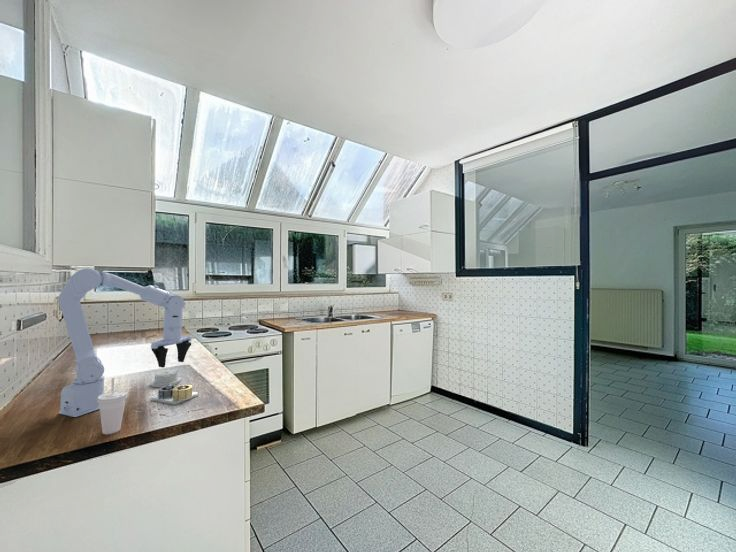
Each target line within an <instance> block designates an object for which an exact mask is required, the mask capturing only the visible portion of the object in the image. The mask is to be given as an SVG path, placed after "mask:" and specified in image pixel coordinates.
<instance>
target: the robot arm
mask: <svg viewBox="0 0 736 552" xmlns="http://www.w3.org/2000/svg"><path fill="white" fill-rule="evenodd" d="M99 286H100V287H114V288H117V289H120V290H123V291H127V292H130V293H133V294H135V295H139V297H140V300H141V301H143V302H147V303H149V304H151V305H155V306H157V307H163V308H164V315H163V334H162V335H163V336H162V337H163V338H162V339H160V340H157V341H154V342H151V343H150V348H151V351H152V353H153V354H154V356H155V358H156V361H157V364H158V367H159V368H165V367H166V363H167V362H166V360H167V353H168V351H169V348H166V347H167V346H173V345H175V346H176V349H177V350H176V351H177V361H178V363H184V362H185V359H186V356H187V353H188V351H189V350H190V347H191V346H192V336H191V335H190V336H189V335H183V334H182V333H183V309H184V308H185V305H186V302H185V300H184V298H183V297H182V296H181V295H178V294H177V295H176V294H174V293H173V291H171V290H169V291H166V290H164V289H161V288H159V287H160V286H159V285H156V284H154V285H151V284H149V285H147V286H142V285H140V284H138V283H135V282H132V281H131V280H127V279H125V278H123V277H120V276H118V275H115V274H113V273H110V272H109V273H108V272H104V271H100V270H99V271H98V270H96V269H94V268H89V267H88V268H82V269H79V270H78V271H76V272H74V273H73V274H72V275H71V276H69V277H68V280H67V281H66V283H65V284H64V287H63V288H62V290H61V291H60V293H59V295H58V297H57V298H58V302H59V307H60V311H61V313H62V316H63V320H64V322H65V326H66V327H65V328H66V329H67V333H68V336H69V339H70V342H71V345H72V346H71V347H72V349H73V351H74V356H75V359H76V364H75V367H74V368H75V373H76V374H75V375H76V377H75V378H74V379H73V380H72V381H73V382H72V383H70V384H68V385H66V386H63V388H62V390H61V392H60V404H59V406H60V407H59V409H60V411H58V414H60V415H64V416H67V417H73V418H77V417H80V416H83V415H85V414H89V413H92V412H94V411H97V410H100V409H99V403H98V402H97V398H98V397H99V396H100V395H102V394H105V375H103V374H104V372H105V366H104V364H102V360H101V359H100V358H99V357H97V354H96V351H95V347H94V345H93V340H92V337H91V335H90V331H89V329H88V328H89V327H88V324H87V320H86V317H85V315H84V312H83V311H84V310H83V308H82V304H81V300H82V299H83V298H84V297H85V296H86V295H87V293H89V292H90V291H92V290H94V289H95V288H97V287H99Z"/></svg>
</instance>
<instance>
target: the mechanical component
mask: <svg viewBox="0 0 736 552" xmlns="http://www.w3.org/2000/svg"><path fill="white" fill-rule="evenodd" d="M181 382H182V378H181V377H180V376H178V370H177V371H176V370H174V369H173V370H163V371H158V372H156V373H155V375H154V379H153V380H151V381H150V387H153V388H161V387H164V386H166V385H168V384H171V385H176V386H177V385H178V384H180V383H181Z"/></svg>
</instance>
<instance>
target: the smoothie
mask: <svg viewBox="0 0 736 552" xmlns="http://www.w3.org/2000/svg"><path fill="white" fill-rule="evenodd" d="M110 389H111V390H110V392H106V393H105V392H104V394H102V395H100V396H99V397H98V398H97V402H98V403H99V409H98V410H99V416H100V424H101V431H102V434H103V435H112V434H115V433H118V432H120V431H121V428H122V422H123V416H124V412H125V405H126V401H127V397H128V394H129V393H128V391H126V390H117V391H116V390H115V377H112V378H111V388H110Z"/></svg>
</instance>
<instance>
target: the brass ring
mask: <svg viewBox="0 0 736 552" xmlns="http://www.w3.org/2000/svg"><path fill="white" fill-rule="evenodd" d="M176 386H177V387H174V389H173V399H177V400H180V399H185V398H189V397H191V396H192V392H194V391H193V389H194V388H193V387H194V385H192V384H181V385H176ZM180 387H186V389H181V390H180Z"/></svg>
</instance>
